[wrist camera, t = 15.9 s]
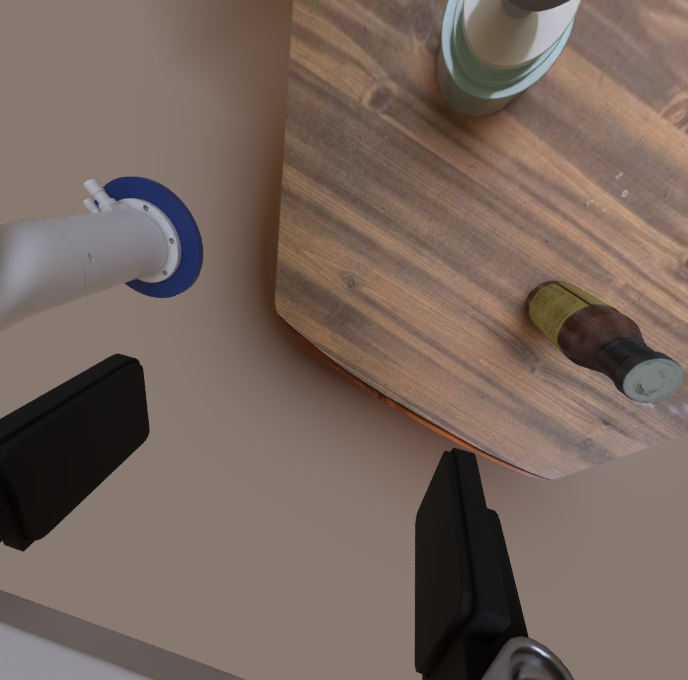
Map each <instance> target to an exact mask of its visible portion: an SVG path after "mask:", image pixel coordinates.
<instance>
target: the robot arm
mask: <svg viewBox="0 0 688 680" xmlns="http://www.w3.org/2000/svg"><path fill="white" fill-rule="evenodd" d="M84 187H85V188H86V189H87V190H88V192H89V193H90V194H91V195H92V197H93V198H95V199H96V201H97V202H98V203H99V206H97V205H96V203H95V202H94V201H93V200H92V199H91V198H89V199H86V200H85V201H84V202H83V204H84V205H85V206H86V207H87V209H88V210H89V211H90V212H91V213H92V214H82V215H72V216H62V217H51V218H42V219H31V220H20V221H14V222H9V223H6V224H3V225H1V226H0V332H2V331H4V330H5V329H7V328H9V327H11V326H13V325H15V324H16V323H18V322H20V321H22V320H25V319H27V318H29V317H31V316H33V315H36V314H38V313H41V312H43V311H46V310H48V309H51V308H54V307H57V306H59V305H62V304H65V303H68V302H71V301H73V300H77V299H80V298H82V297H85V296H88V295H91V294H94V293H97V292H100V291H103V290H106V289H109V288H111V287H114V286H117V285H120V284H123V283H126V282H129V281H132V280H135V279H139V280H141V281H144V282H150V283H151V282H160V281H163V280H166V279H168V278H169V277H171V276H172V275H173V274H174V273H175V272H176V271H177V269H178V267H179V265H180V261H181V251H182V250H181V243H180V239H179V236H178V233H177V231H176V229H175V227H174V225H173V223H172V222H171V220H170V219H169V218H168V217H167V215H166V214H165V213H164V212H163V211H162V210H160V209H159V208H158V207H157V206H155V205H154V204H152V203H150V202H148V201H145V200H143V199H137V198H127V199H122V200H119V201H116V200H115V199H114V198H110V197H109V195H108V194H107V193H106V191H105V189H104V188H103V187H102V186H101V184H100V183H99V182H98V181H97V180H96V179H90V180H88V181H86V182H85V183H84ZM98 207H99V208H100V209H99V208H98ZM148 435H149V420H148V411H147V401H146V392H145V382H144V372H143V367H142V366H141V365H140V363H139V361H138V360H137V359H136V358H132V357H129V356H125V355H122V354H115V355H112V356H110V357H108V358H107V359H105V360H103V361H102V362H100V363H98V364H96V365H94V366H93V367H91V368H89V369H87V370H86V371H84V372H82V373H80V374H79V375H77V376H75V377H73V378H72V379H70V380H68V381H66V382H65V383H63V384H61V385H59V386H57V387H56V388H54V389H52V390H50V391H49V392H47V393H45V394H44V395H42V396H40V397H38V398H36V399H35V400H33V401H31V402H29V403H28V404H26V405H24V406H22V407H21V408H19V409H17V410H15V411H14V412H12V413H10V414H8V415H6V416H5V417H3V418H1V419H0V542H1V541H3V543H4V545H6V546H9V547H12V548H15V549H17V550H20V551H25V550H26V549H27V548H28V547H29V546H30V545H31V544H32V543H33V542H34V541H35V540H39V539H41V538H43V537H45V536H46V535H47V534H48V533H49V532H50V531H51V530H53V529H54V528H55V527H56V526H57V525H58V524H59V523H60V522H61V521H62V520H63V519H64V518H65V517H66V516H67V515H68V514H69V513H70V512H71V511H72V510H73V509H74V508H76V507H77V506H78V505H79V504H80V503H81V502H82V501H83V500H84V499H85V498H86V497H87V496H88V495H89V494H90V493H91V492H92V491H93V490H94V489H96V487H97V486H99V485H100V484H101V483H102V482H103V481H104V480H105V479H106V478H107V477H108V476H109V475H110V474H111V473H112V472H113V471H114V470H115V469H116V468H118V466H120V465H121V464H122V463H123V462H124V461H125V460H126V459H127V458H128V457H129V456H130V455H131V454H132V453H133V452H134V451H135V450H136V449H137V448H138V447H140V446H141V445H142V444H143V443H144V441H145V440H146V439H147V437H148ZM415 668H416V671H417V672H418V673H421V674H422V676H423V677H422V680H574V678H573V677H572V675H571V673H570V672H569V670H568V669H567V668H566V666H565V665H564V664H563V663H562V662H561V660H560V659H559V658H558V657H557V656H556V655H555V654H554V653H553V652H551V651H550V650H549V649H548V648H547V647H546V646H544V645H542V644H541V643H539V642H537V641H535V640H534V639H531V638H529V637H528V633H527V629H526V625H525V621H524V617H523V613H522V608H521V605H520V601H519V596H518V592H517V589H516V584H515V580H514V576H513V572H512V568H511V564H510V560H509V556H508V552H507V547H506V543H505V539H504V536H503V531H502V527H501V523H500V519H499V517H498V514H497V513H496V512H495V511H494V510H491V509H488V508H487V507H486V502H485V497H484V492H483V488H482V483H481V478H480V474H479V469H478V464H477V460H476V456H475V454H474V453H471V452H468V451H464V450H460V449H456V448H453V449H452V450H451V451H450V452H448V451H445V452H444V453H443V455H442V457H441V459H440V462H439V464H438V466H437V469H436V471H435V473H434V476H433V478H432V480H431V482H430V485H429V487H428V489H427V491H426V494H425V496H424V499H423V500H422V503H421V505H420V508H419V510H418V512H417V516H416V523H415ZM0 680H245V679H243V678H240V677H237V676H235V675H232V674H229V673H227V672H224V671H221V670H218V669H216V668H213V667H210V666H207V665H205V664H202V663H200V662H197V661H194V660H191V659H189V658H186V657H184V656H181V655H178V654H175V653H173V652H170V651H167V650H164V649H162V648H159V647H156V646H154V645H151V644H148V643H145V642H143V641H140V640H137V639H134V638H132V637H129V636H126V635H124V634H120V633H118V632H115V631H113V630H110V629H107V628H104V627H102V626H99V625H96V624H93V623H91V622H88V621H85V620H82V619H80V618H77V617H74V616H71V615H69V614H66V613H63V612H60V611H58V610H55V609H52V608H49V607H46V606H43V605H41V604H38V603H35V602H33V601H30V600H27V599H24V598H21V597H18V596H16V595H13V594H10V593H7V592H4V591H2V590H0Z"/></svg>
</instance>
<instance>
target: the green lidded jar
mask: <svg viewBox="0 0 688 680" xmlns="http://www.w3.org/2000/svg"><path fill="white" fill-rule="evenodd" d="M580 2H581V0H570V1H568V2H567V3H564V4H562V5H560V6H558V7H556V8H553V9H549V10H545V11H541V12H531V13H530V14H529V15H527V16H525V17H523V18H520V19H514V18H511V17H509V16H508V15H507V14H506V13H505V12H504V10H503V7H502V0H448V2H447V5H446V8H445V12H444V16H443V21H442V27H441V33H440V40H439V46H438V52H437V58H436V79H437V84H438V88H439V90H440V93H441V95H442V97H443V99H444V100H445V102H446V103H447V104H448V105H449V106H450V107H451V108H452V109H453V110H455V111H456V112H458V113H460V114H462V115H465V116H469V117H483V116H488V115H491V114H494V113H496V112H498V111H501V110H502V109H504V108H505V107H507V106H508V105H509V104H511V103H512V102H513V101H514V100H516V99H517V98H518V97H519V96H520V95H522V94H523V93H524V92H525V91H526V90H528V89H529V88H530V87H531V86H532V85H533V84H535V83H536V82H537V81H538V80H539V79H541V78H542V77H543V76H544V75H545V74H546V73H547V72H548V70H549V69H550V68H551V67H552V66H553V64H554V63H555V62H556V60H557V59H558V57H559V56H560V54H561V53H562V51H563V49H564V47H565V45H566V43H567V41H568V39H569V36H570V34H571V31H572V28H573V25H574V21H575V16H576V12H577V9H578V7H579V5H580Z"/></svg>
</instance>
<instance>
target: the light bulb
mask: <svg viewBox="0 0 688 680" xmlns="http://www.w3.org/2000/svg"><path fill="white" fill-rule="evenodd" d="M568 1H570V0H502V7H503V10H504V12H505V13H506V14H507V15H508V16H509V17H511V18H514V19H520V18H523V17H525V16H527V15H529V14H530V13H531V12H541V11H545V10H549V9H553V8H556V7H558V6H560V5H562V4H564V3H567V2H568Z"/></svg>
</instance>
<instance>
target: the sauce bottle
mask: <svg viewBox="0 0 688 680" xmlns="http://www.w3.org/2000/svg"><path fill="white" fill-rule="evenodd" d="M526 309H527V313H528V315H529V316H530V318H531V320H532V322H533V323H534V324H535V325H536V326H537V327H538V328H539V329H540V330H541V331H542V332H543V333H544V334H545V335H546V336H547V337H548V338H549V340H551V342H553V344H555V346H556V347H557V348H558V349H559V350H560V351H561V352H562V353H563V354H564V355H565V356H566V357H567V358H568V359H570V360H571V361H572V362H574V363H575V364H577V365H579V366H582V367H585V368H588V369H592V370H595V371H598V372H601V373H604V374H605V375H607V376H608V377H609V378H610V379H611V380H613V381H614V384H615V386H616V387H617V389H618V390H619V391H620V392H622V393H623V394H624V395H625V396H627V397H628V398H630V399H631V400H634V401H637V402H643V403H653V402H657V401H660V400H663V399H665V398H667V397H669V396H670V395H672V394H673V393H674V392H675V391H676V390H677V389H678V388H679V387H680V386H681V384H682V382H683V377H684V374H683V370H682V368H681V366H680V365H679V364H678V363H677V362H675V361H674V360H672V359H671V358H670V357H668V356H666V355H665V354H663V353H660V352H655V351H653V350H652V349H650V348H649V347H647V345H646V344H645V343H644V340H643V337H642V335H641V332H640V329H639V327H638V326H637V324H636V323H635V322H634V321H633V320H631V319H630V318H628V317H627V316H625V315H623V314H621V313H620V312H619V311H618V310H616V309H615V308H613V307H611V306H610V305H608V304H606V303H604V302H602V301H601V300H599V299H597V298H595V297H594V296H592V295H590V294H588V293H587V292H585V291H583V290H581V289H580V288H578V287H576V286H574V285H572V284H570V283H565V282H561V281H549V282H546V283H543V284H542V285H540V286H539V287H537V288H536V289H534V290H533V291H532V293H531V294H530V296H529V297H528V301H527V306H526Z"/></svg>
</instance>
